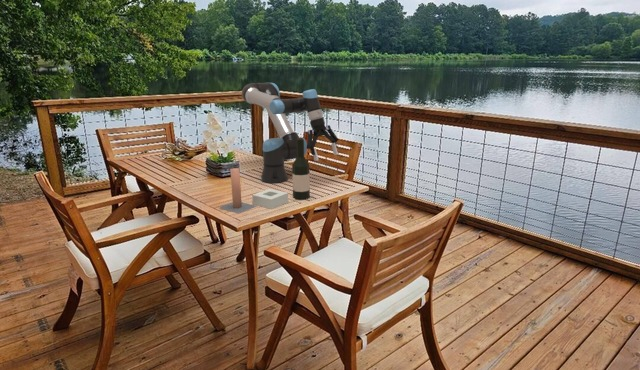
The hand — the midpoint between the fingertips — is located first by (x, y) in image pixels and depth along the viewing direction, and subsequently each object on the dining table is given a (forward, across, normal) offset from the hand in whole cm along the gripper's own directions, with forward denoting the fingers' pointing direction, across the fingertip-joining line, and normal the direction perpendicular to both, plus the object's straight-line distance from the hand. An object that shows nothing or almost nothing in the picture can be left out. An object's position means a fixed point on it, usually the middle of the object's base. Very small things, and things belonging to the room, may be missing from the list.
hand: (326, 157), depth 225 cm
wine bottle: (+15, -25, -4) cm, 29 cm away
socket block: (+13, -42, -3) cm, 44 cm away
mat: (+10, -56, +1) cm, 57 cm away
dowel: (+10, -56, +1) cm, 57 cm away
